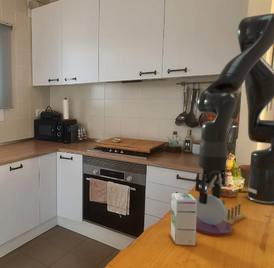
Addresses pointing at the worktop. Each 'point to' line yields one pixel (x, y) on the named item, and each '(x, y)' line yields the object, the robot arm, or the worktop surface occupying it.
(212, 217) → the plate
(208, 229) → the plum plate
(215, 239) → the worktop surface
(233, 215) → the dish rack
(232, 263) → the worktop surface
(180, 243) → the syrup box
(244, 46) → the robot arm
